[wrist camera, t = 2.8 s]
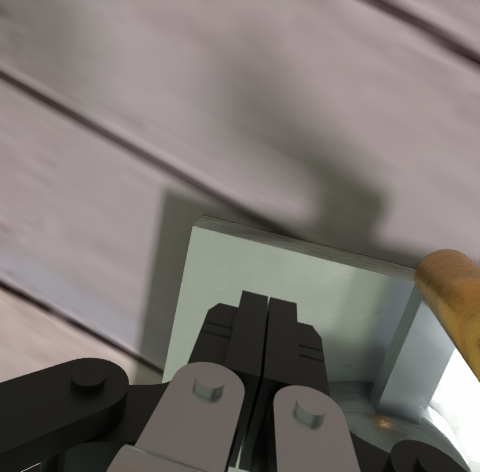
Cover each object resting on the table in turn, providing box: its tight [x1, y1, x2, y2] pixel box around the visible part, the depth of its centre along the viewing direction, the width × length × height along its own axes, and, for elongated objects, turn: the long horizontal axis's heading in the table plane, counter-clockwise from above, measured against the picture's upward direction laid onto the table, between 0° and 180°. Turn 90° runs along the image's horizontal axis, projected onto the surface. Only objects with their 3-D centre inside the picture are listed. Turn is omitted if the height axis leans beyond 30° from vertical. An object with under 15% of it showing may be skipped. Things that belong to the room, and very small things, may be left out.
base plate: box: [162, 215, 480, 472], centre depth 23 cm, size 22×22×2 cm
